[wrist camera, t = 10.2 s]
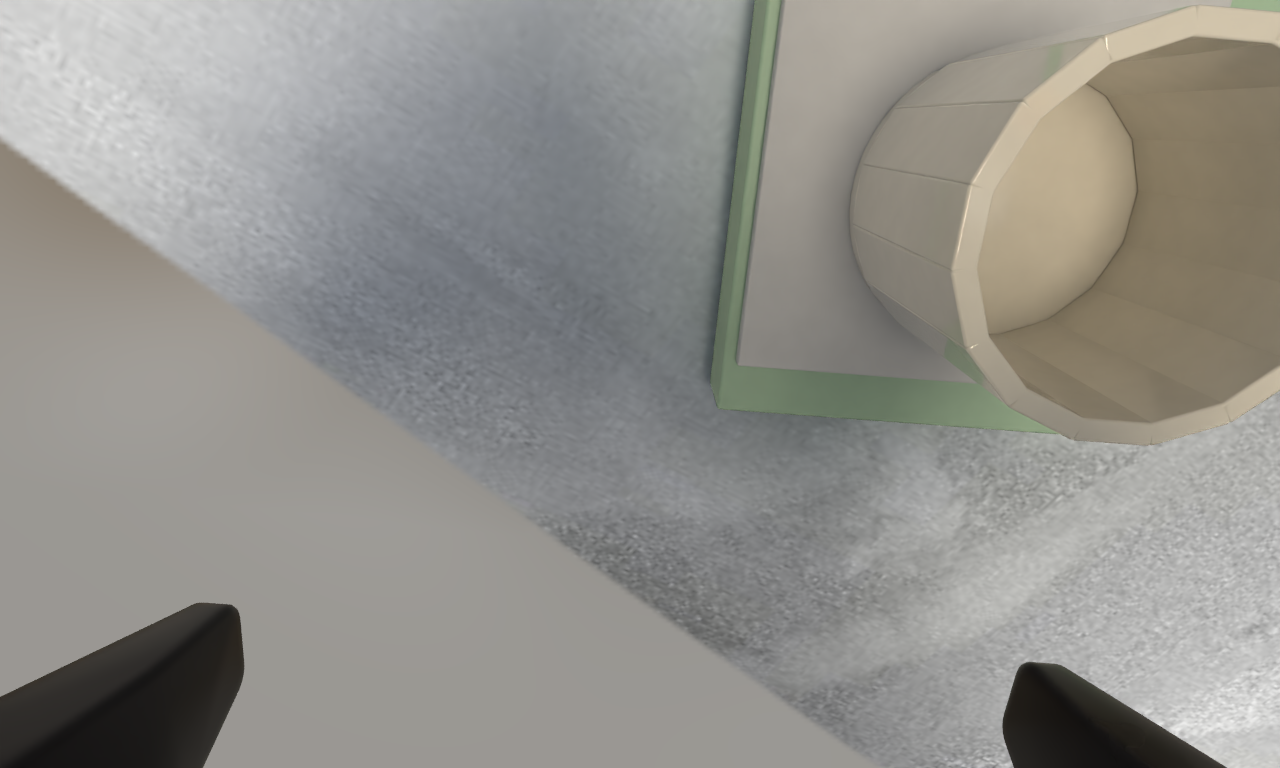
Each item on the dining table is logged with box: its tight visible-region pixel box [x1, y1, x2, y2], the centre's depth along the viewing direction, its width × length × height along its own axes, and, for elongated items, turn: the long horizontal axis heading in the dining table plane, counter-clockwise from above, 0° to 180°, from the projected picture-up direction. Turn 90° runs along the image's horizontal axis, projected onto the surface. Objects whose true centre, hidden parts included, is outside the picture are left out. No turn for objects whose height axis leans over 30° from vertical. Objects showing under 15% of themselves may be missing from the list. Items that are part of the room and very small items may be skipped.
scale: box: [710, 0, 1280, 434], centre depth 18 cm, size 11×11×2 cm
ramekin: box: [849, 4, 1280, 446], centre depth 14 cm, size 6×6×6 cm
